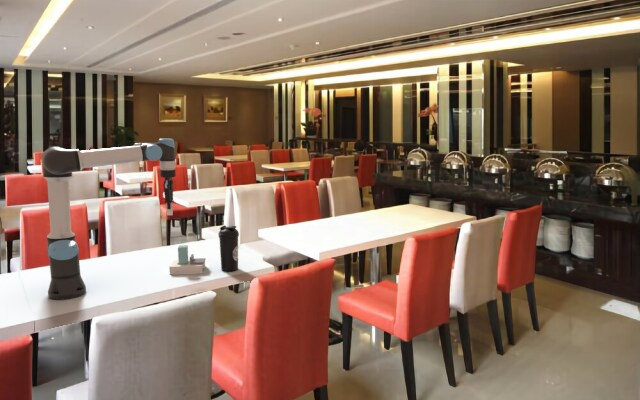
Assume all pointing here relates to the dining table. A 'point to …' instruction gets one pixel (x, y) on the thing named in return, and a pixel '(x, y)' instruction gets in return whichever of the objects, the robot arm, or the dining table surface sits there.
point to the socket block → (186, 268)
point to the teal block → (183, 254)
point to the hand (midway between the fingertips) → (169, 214)
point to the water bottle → (229, 248)
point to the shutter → (196, 260)
